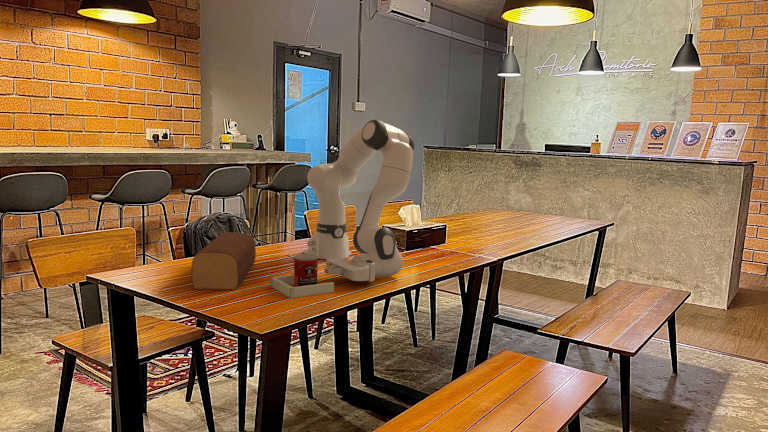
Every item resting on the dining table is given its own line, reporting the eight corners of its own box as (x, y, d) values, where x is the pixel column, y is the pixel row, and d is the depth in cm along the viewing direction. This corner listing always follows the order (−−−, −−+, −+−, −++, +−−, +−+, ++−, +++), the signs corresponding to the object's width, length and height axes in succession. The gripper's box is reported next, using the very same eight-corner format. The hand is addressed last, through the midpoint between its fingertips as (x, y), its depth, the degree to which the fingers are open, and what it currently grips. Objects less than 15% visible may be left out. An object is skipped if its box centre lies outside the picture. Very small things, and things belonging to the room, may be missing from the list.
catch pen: (270, 286, 197) (270, 277, 196) (311, 280, 205) (311, 272, 205) (291, 298, 183) (291, 288, 183) (333, 292, 192) (334, 283, 191)
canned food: (297, 292, 190) (298, 259, 189) (291, 286, 197) (291, 254, 196) (320, 290, 193) (320, 257, 192) (313, 284, 200) (313, 253, 199)
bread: (190, 290, 189) (189, 250, 188) (216, 264, 228) (215, 230, 226) (239, 291, 191) (238, 250, 189) (256, 264, 229) (256, 230, 227)
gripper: (346, 253, 215) (312, 256, 207) (377, 264, 198) (341, 268, 190) (346, 269, 216) (312, 273, 208) (376, 282, 199) (340, 287, 191)
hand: (326, 271), depth 199 cm, fingers closed
